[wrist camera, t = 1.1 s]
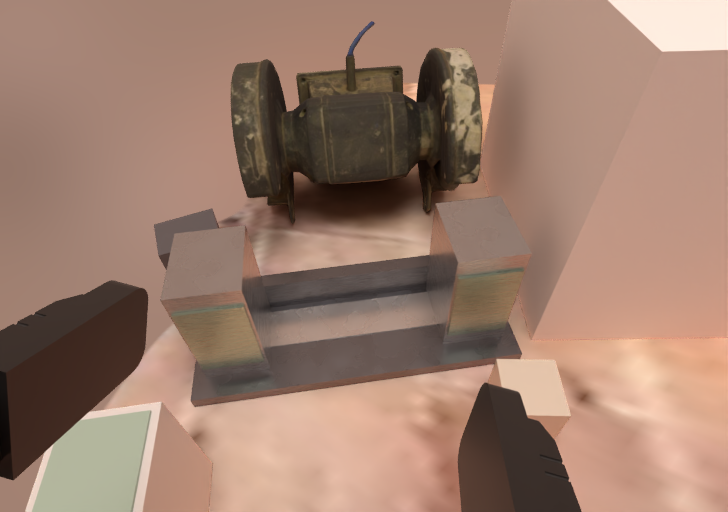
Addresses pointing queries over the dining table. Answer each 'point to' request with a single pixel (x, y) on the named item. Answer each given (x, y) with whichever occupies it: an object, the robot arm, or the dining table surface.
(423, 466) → the dining table surface
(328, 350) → the rail
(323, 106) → the bench grinder
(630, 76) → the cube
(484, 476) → the robot arm
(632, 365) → the dining table surface
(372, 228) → the dining table surface
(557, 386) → the beige rectangular block
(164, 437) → the block
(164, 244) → the relay
